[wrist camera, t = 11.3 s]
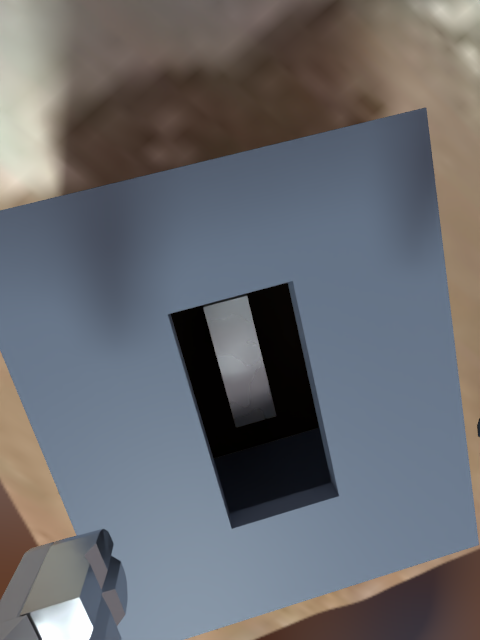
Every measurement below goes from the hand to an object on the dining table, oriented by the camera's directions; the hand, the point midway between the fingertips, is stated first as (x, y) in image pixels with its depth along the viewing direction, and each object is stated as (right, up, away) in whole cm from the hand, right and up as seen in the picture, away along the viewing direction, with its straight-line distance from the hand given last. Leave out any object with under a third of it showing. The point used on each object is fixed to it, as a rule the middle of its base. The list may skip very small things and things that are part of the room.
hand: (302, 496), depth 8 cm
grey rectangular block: (-2, +3, +15) cm, 15 cm away
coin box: (-2, +3, +14) cm, 15 cm away
